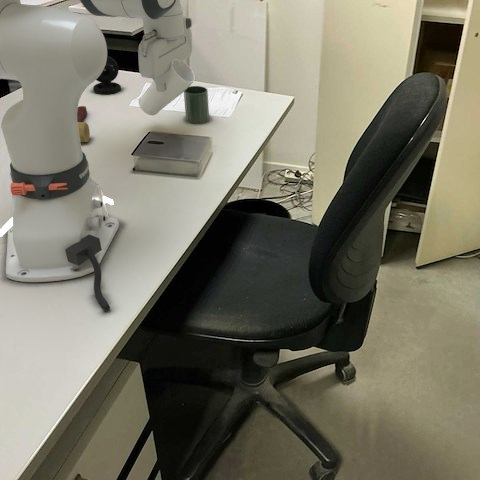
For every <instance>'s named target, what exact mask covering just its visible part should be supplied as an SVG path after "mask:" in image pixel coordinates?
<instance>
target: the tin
mask: <svg viewBox="0 0 480 480" xmlns="http://www.w3.org/2000/svg"><path fill="white" fill-rule="evenodd" d="M183 98H184V99H183V100H184V113H185V121H186V122H187V123H189V124H195V125H200V124H201V125H202V124H205V123H207V122H209V121H210V110H209V107H210V106H209V91H208V88H207V87H205V86H200V85H192V86H191V85H190V86H189V87H188V88H187V89H186V90H185V91H184V92H183Z"/></svg>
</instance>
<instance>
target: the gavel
mask: <svg viewBox="0 0 480 480" xmlns="http://www.w3.org/2000/svg"><path fill="white" fill-rule="evenodd" d="M87 113H88V109H87V106H86V105H80V106H79V105H78V109H77V122H78V130H79V136H80V142H81V143H88V142H89V140H90V135H91V134H90V133H91V132H90V126H89V124H88V123H87V121H82V120H83V119H84V118H85V117H86V115H87Z"/></svg>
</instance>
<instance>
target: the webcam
mask: <svg viewBox="0 0 480 480" xmlns="http://www.w3.org/2000/svg"><path fill="white" fill-rule="evenodd" d="M118 75H119V65H118V62H117V61H116V59H114V58H113V57H112V56H109V55H107V60H106V65H105V67H104V69H103V71H102V73H101V74H100V76H99V77H98V78H97V79H96V80H95V81H97V82H99V83H96V84H94V85H93V87H92V89H93V91H94V92H95V94H100V95H114V94H116V93H118V92H120V91H121V90H122V86H121V84H120V83H117V82H115V81H114V80H115V79H117V77H118Z"/></svg>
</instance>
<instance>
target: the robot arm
mask: <svg viewBox="0 0 480 480" xmlns="http://www.w3.org/2000/svg"><path fill="white" fill-rule="evenodd" d="M79 1H80V3H81V4H82V6H83V7H84V8H85V9H86V11H87V12H88V13H90V14H91V15H94V16H96V17H120V18H129V19H141V20H142V26H143V36H142V39H141V41H140V43H139V44H138V51H137V54H138V55H137V56H138V70H139V74H140V76H141V77H142V78H145V79H151V80H153V82H155V84H156V89H157V91H158V92H164V91H165V90H166V83H164V82H163V79H162V78H163V73H165V72H166V71H168V70H169V69H170V65H171V62H172V61H173V60H174V61H173V63H172V64H173V67H174V66H176V65H177V64H178V61H176V60H175V59H179V60H182V61H183V62H185V60H187V59H188V58H190V57H191V55H192V51H193V36H192V30H191V29H192V27H193V18H192V17H190V16H186V15H184V12H183V7H182V5H181V4H182V3H181V0H79ZM107 56H108V45H107V42H106V38H105V35H104V34H103V31H102V29H101V28H100V26H99V25H98V24H97V22H95V20H93V19H92V18H91V17H89V16H86V15H83V14H81V13H77V12H74V11H71V10H68V9H64V8H62V7H54V6H45V5H34V4H25V3H22V2H21V0H0V80H8V81H9V80H10V81H18V83H20V86H21V89H22V95H23V96H22V100H20V101H17V102H16V103H14V104H13V105H11V106H10V107H8V109H7V110H6V111H5V113H4V114H3V117H2V119H1V123H0V128H1V131H2V134H3V139H4V142H5V145H6V149H7V153H8V157H9V159H10V163H9V169H10V173H9V175H10V180H11V183H10V193H11V196H12V203H11V204H12V209H11V210H12V215H11V216H12V217H11V218H10V219H9V220H8V221H6V223H5V224H4V225H3V226H2V227H1V228H0V237H3V236H4V235H5V234H6V233H7V242H6V259H5V276H6V278H7V279H10V280H12V281H17V282H22V283H46V282H47V283H48V282H49V283H50V282H58V281H65V280H67V281H68V280H72V279H76V278H81V277H84V276H87V275H89V274H92V273H94V280H93V291H94V294H95V295H94V296H95V298H96V300H97V302H98V303H99V304H100V306H101V307H102V309H103V310H104V311H109V310H110V309H111V306H110V304H109V302H108V301H107V299H106V298H105V297H104V296H103V292H102V289H101V284H102V283H101V282H102V269H101V265H100V264H101V262H102V260H103V258H104V256H105V254H106V252H107V250H108V249H109V246H110V245H111V243H112V241H113V239H114V238H115V235H116V233H117V231H118V230H119V228H120V222H119V219H117V218H115V217H112V216H109V213H108V209H107V205H106V204H109V205H110V206H113V205H114V200H113V199H111V198H109V197H107V196H105V195H104V193H103V192H104V191H103V189H102V186H101V185H100V184H99V183H98V182H96V181H95V180H93V179H92V178H91V176H90V175H91V173H90V167H89V166H90V164H89V161H88V160H87V159H88V158H87V156H86V154H85V153H84V151H83V148H82V142H80V136H79V130H78V122H77V109H78V107H79V104H80V101H81V97H82V95H83V93H84V92H85V91H86V89H87V88H88V87H89V86H90V85H91V84H93V83H94V82H95V81H97V80H96V79H97V78H98V77H99V76H100V74H101V73H102V71H103V69H104V67H105V65H106V60H107Z"/></svg>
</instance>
